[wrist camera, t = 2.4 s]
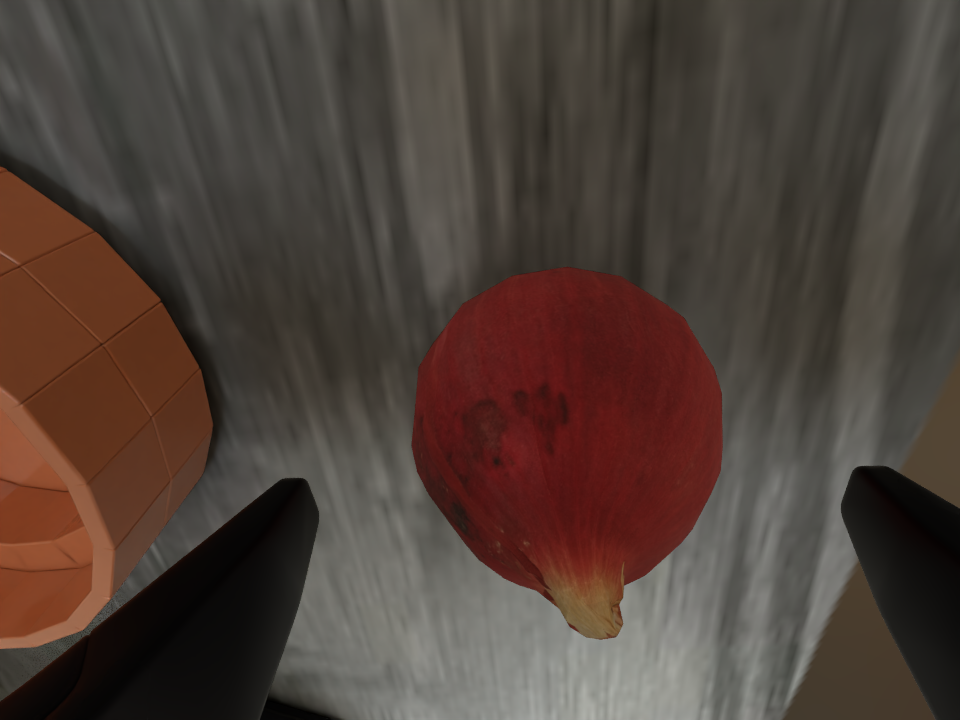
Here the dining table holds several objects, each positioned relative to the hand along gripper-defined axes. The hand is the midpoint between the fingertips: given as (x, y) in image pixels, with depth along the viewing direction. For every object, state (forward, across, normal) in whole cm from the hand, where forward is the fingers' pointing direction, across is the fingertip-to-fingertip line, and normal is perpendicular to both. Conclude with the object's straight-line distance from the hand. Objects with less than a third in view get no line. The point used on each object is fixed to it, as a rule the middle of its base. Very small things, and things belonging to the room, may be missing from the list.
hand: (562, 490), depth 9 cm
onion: (+6, 0, 0) cm, 6 cm away
